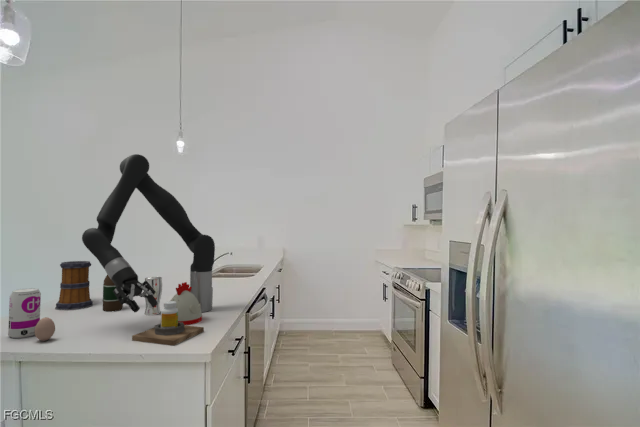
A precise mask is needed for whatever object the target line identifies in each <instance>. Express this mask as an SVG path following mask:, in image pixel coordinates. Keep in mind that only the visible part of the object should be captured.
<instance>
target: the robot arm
mask: <svg viewBox="0 0 640 427" xmlns="http://www.w3.org/2000/svg"><path fill="white" fill-rule="evenodd" d="M149 170H150V163H149V160H148V159H147V158H146V157H145V156H144V155H142V154H138V153H137V154H131V155H128V156H127V157H126V158H124V159H123V160H122V161H121V162H120V164H119V171H120V173H121V177H120V179H119V180H118V183H116V186H115V187H114V189H112V192H111V193H110V194H109V195H108V197H107V198H106V200H105V202H104V203H103V204H102V207H101V208H100V211H99V212H98V214H97V215H96V222H97V225H98V226H97V227H91V228H87V229H86V230H84V232H83V233H82V236H81V241H82V243H83V245H84V246H85V248H86V249H87V250H88V251H89V252H90V253H91V254H92V255H93V256H94V257H95V258H96V259H97V260H98V262H99V264H100V265H101V266H102V268H103V269H104V270H105V273H106V276H107V275H108V276H109V277H110V279H111V280H112V282H113V283H114V284H115V286H116V288H115V290H114V291H113V292H114V294H115V296H116V297H117V299H118V300H119V302H120V303H121V304H123V305H124V304H126V305H127V306H128V307H129V308H130V309H131V310H132V312H134V313H137V312H138V311H139V310H140V305H138V303H137V302H136V301H135V300H134V297H139V298H144V299H145V298H146V299H148V302H149V303H150V304H151V306H152V307H155V306H156V305H157V304H158V303H157V301H156V299H155V298H154V297H153V295H154V294H155V293H156V292H155V290H154V289H153V288H152V287H151V285H150V284H149V283H148V282H147V281H145V280H144V281H143V282H140V281H139V275H138V274H137V273H136V271H135V270H134V269H133V267H132V266H131V265H130V264H129V262H128V261H127V260H126V259H125V258H124V257H123V254H121V253H120V251H119V250H118V249H117V248H116V247H114V246H113V245H112V242H113V240H114V237H115V236H114V235H115V233H116V227H117V224H118V222H119V220H120V219H121V217H122V215H123V212H124V211H125V209H126V207H127V204H128V203H129V201H130V198H131V197H132V195H133V193H134V191H135V190H136V189H137V190H138V191H139V192H140V193H141V194H142V196H143V197H144V198H145V199H146V201H147V202H148V203H149V204H150V205H151V207H153V209H154V210H155V211H156V212H157V214H158V215H159V216H160V217H161V218H162V219H163V220H164V221H165V223H167V225H168V226H170V227H171V229H172V230H174V231H175V232H176V233H177V234H178V235H179V237H180V238H181V239H182V241H183V242H184V244H186V246H187V248H188V249H189V250H190V252H191V253H193V260H192V263H191V264H190V267H189V268H190V269H189V270H190V271H189V287H192V288H191V293H192V294H193V295H194V296H195V297H196V298H197V300H198V302H199V304H201V312H202V313H205V312H210V311H211V310H213V297H214V296H213V292H214V291H213V290H214V288H213V267H214V264H215V255H216V254H215V250H216V246H215V244H216V243H215V240H214V239H213V237H212V236H210V235H207V234H203V233H201V231H199V230H198V229H197V228H196V227H195V226H194V225H193V223H192V222H191V219H190V218H189V216H188V214H187V212H186V210H185V208H184V207H183V206H182V204H181V203H180V202H179V201H178V200H177V198H176V197H175V196H174V195H173V194H172V193H170V192H169V190H167V189H165V188H163V187H162V186H161V185H159V184H158V183H157V182H155V181H154V179H153V177H151V175H150V174H149ZM149 290H150V291H151V292H150V291H149ZM146 293H147V294H148V296H147V295H145V294H146ZM122 297H123V299H122Z"/></svg>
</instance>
